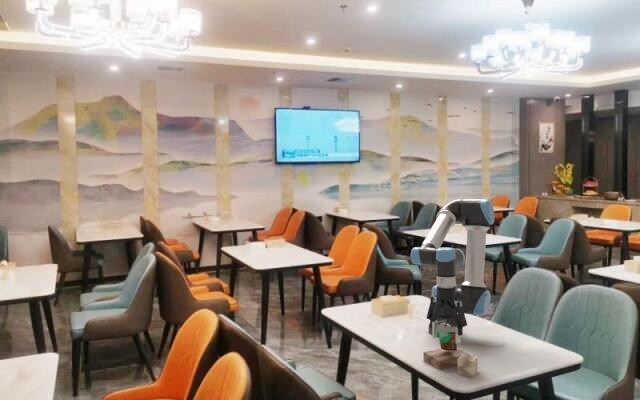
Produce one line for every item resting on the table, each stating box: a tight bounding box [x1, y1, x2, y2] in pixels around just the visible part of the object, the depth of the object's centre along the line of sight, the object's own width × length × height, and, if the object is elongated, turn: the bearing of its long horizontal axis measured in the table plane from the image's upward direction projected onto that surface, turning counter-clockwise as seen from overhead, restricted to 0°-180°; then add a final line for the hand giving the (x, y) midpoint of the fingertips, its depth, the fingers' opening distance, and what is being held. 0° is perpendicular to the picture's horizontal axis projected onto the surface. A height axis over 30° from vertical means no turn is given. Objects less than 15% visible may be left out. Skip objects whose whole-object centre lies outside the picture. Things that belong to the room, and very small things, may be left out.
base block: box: [423, 348, 471, 371], centre depth 215 cm, size 11×15×4 cm
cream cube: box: [457, 354, 479, 377], centre depth 203 cm, size 6×6×6 cm
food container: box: [436, 319, 458, 351], centre depth 215 cm, size 12×6×10 cm, turn 4°
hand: (446, 339), depth 214 cm, fingers closed on food container, 10 cm apart
